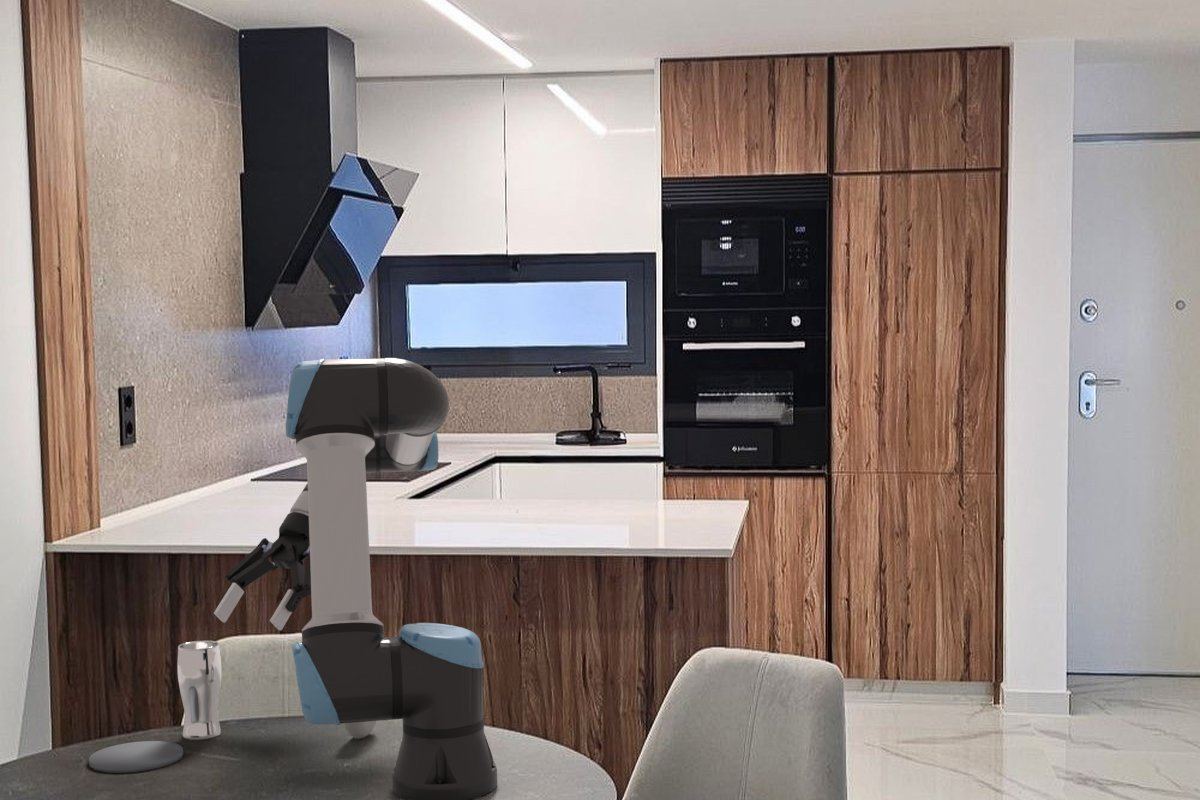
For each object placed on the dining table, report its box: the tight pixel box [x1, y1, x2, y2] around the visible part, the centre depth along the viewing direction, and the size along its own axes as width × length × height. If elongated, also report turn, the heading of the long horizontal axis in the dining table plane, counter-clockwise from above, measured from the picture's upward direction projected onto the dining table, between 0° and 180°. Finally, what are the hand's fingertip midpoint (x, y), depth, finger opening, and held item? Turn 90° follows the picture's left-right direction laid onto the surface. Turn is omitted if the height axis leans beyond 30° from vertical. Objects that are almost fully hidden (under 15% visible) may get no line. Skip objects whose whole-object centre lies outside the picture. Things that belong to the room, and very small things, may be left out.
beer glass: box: [177, 640, 222, 741], centre depth 241 cm, size 7×7×15 cm
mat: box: [88, 740, 184, 774], centre depth 228 cm, size 14×14×1 cm
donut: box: [343, 721, 377, 739], centre depth 237 cm, size 10×4×10 cm, turn 168°
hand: (246, 622), depth 249 cm, fingers open, 13 cm apart
